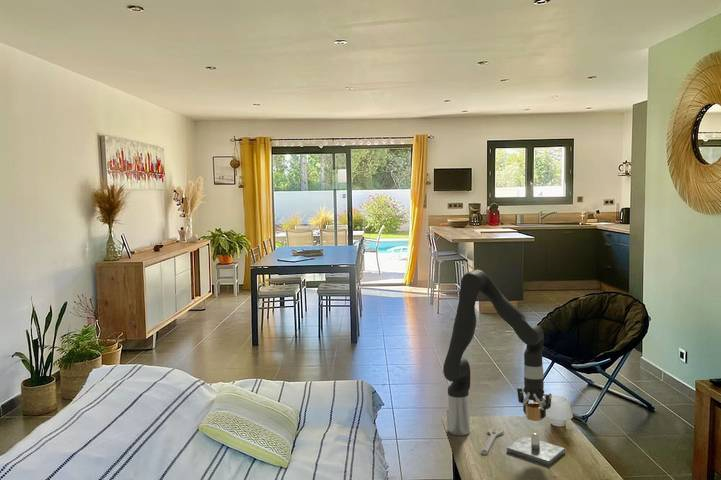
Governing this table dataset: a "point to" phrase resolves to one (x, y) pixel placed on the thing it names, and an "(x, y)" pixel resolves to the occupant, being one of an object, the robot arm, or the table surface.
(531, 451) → the block
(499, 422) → the table surface
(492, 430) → the adjustable wrench
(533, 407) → the wooden octagonal ring
